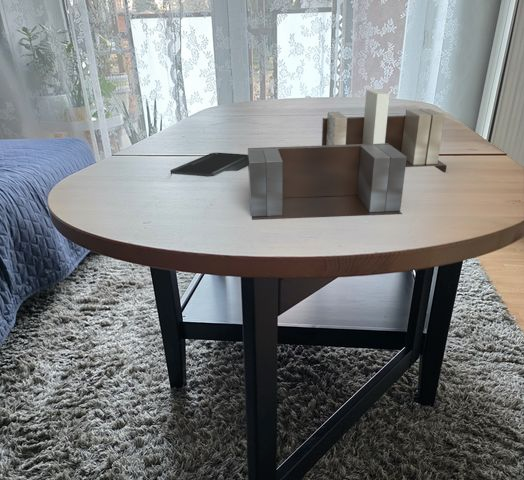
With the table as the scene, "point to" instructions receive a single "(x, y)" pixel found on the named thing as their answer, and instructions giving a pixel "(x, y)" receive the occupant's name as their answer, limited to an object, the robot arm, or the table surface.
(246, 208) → the table surface
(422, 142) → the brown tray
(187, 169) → the phone
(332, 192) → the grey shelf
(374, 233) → the table surface
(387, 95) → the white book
